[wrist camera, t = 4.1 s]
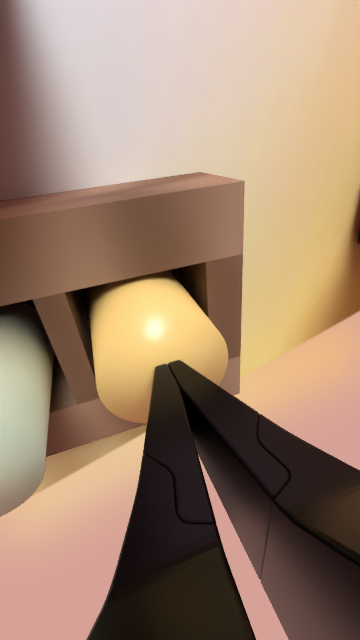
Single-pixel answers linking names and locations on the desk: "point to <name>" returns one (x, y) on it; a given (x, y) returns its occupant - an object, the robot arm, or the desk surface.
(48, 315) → the wooden three-slot tray
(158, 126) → the desk surface
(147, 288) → the yellow rounded cylinder
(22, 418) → the pale green rounded block
